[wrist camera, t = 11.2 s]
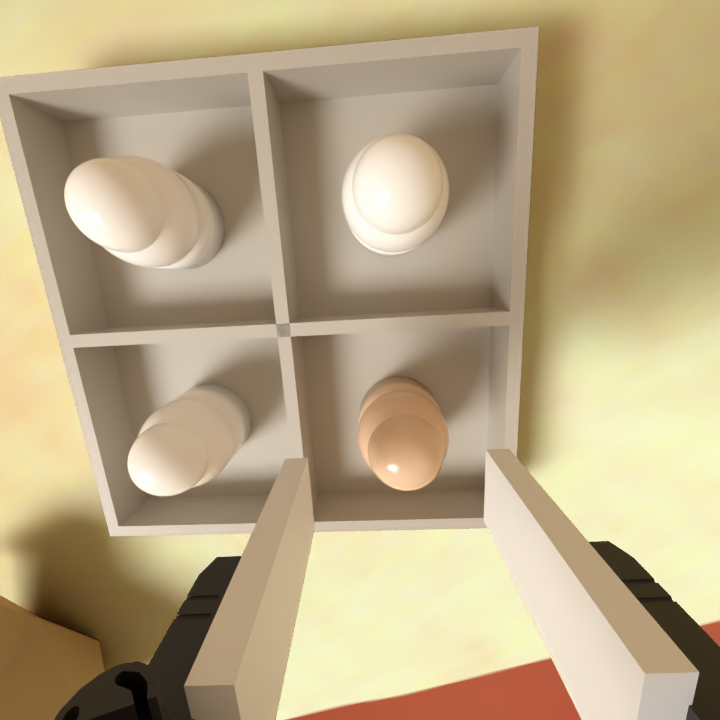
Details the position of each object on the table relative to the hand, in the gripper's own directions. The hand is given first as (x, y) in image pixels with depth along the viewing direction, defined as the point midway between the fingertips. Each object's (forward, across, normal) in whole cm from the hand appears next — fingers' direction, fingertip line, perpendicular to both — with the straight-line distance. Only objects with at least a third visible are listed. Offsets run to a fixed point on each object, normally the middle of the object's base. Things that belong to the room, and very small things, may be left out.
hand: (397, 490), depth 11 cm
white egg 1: (+7, -10, +10) cm, 16 cm away
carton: (+8, -4, +5) cm, 10 cm away
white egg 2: (+7, -10, 0) cm, 12 cm away
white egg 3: (+7, +1, +10) cm, 12 cm away
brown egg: (+7, +1, 0) cm, 7 cm away
